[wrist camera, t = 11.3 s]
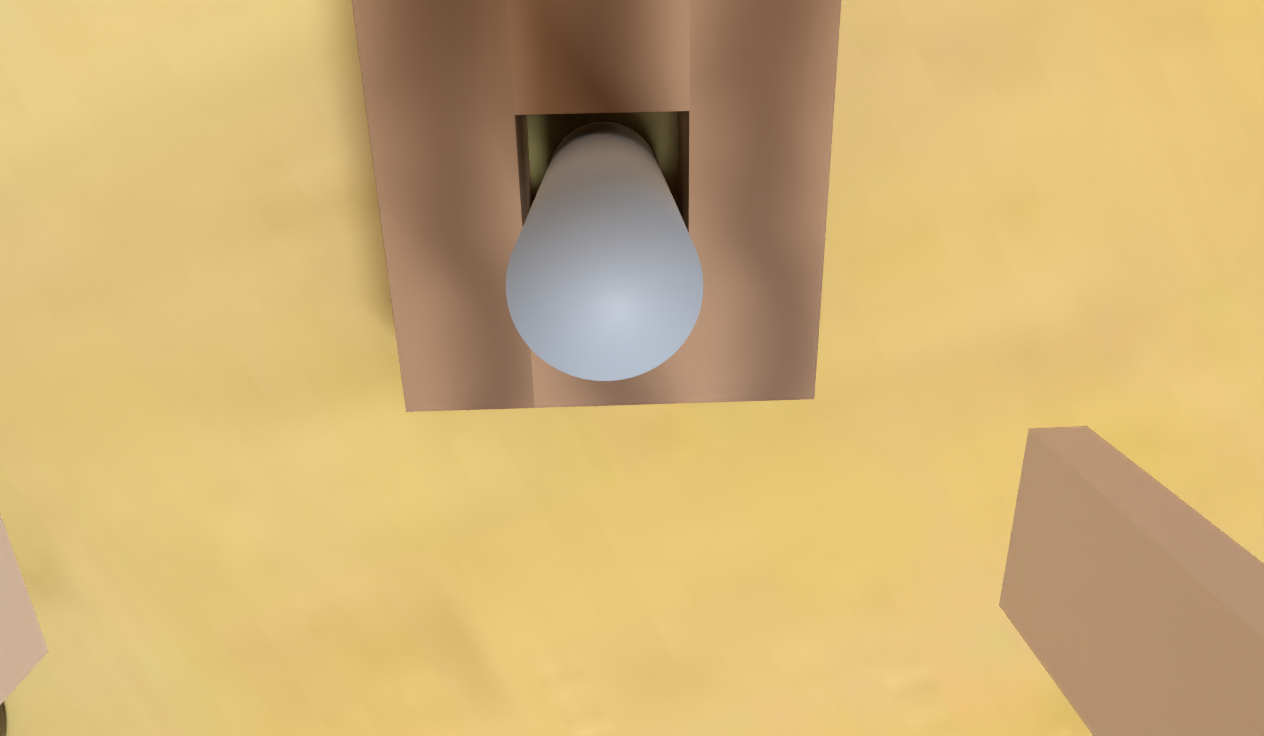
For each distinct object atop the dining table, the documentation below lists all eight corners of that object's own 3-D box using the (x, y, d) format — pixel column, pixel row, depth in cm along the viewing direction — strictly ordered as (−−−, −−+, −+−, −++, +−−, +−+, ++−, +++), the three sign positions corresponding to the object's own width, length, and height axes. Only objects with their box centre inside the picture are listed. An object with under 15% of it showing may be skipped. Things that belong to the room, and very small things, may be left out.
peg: (551, 235, 35) (513, 383, 20) (545, 122, 33) (498, 192, 18) (659, 232, 35) (702, 378, 20) (658, 120, 33) (704, 187, 18)
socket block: (428, 369, 37) (405, 411, 32) (380, -34, 31) (346, -46, 26) (790, 358, 37) (814, 399, 33) (812, -42, 31) (844, -55, 27)
